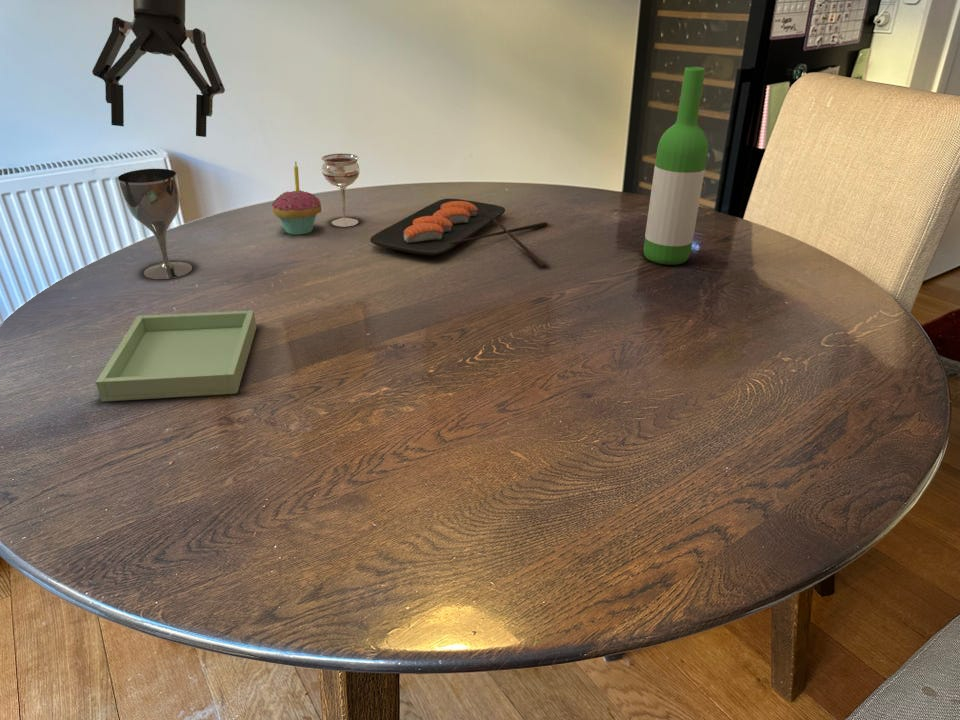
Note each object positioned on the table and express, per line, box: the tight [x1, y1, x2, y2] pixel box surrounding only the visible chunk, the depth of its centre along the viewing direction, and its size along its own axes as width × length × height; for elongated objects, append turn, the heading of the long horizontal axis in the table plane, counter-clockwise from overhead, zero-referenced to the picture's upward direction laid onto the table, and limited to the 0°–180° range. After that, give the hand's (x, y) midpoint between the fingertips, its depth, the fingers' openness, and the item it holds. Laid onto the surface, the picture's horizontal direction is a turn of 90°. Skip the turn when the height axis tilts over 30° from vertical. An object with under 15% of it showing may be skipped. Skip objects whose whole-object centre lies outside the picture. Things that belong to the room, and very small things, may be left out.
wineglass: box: [320, 152, 361, 228], centre depth 129 cm, size 7×7×12 cm
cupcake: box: [271, 161, 322, 236], centre depth 125 cm, size 9×8×12 cm
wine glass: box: [117, 168, 193, 280], centre depth 107 cm, size 8×8×15 cm
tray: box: [95, 310, 257, 403], centre depth 85 cm, size 15×17×3 cm
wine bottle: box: [643, 66, 709, 266], centre depth 111 cm, size 8×8×30 cm
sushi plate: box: [369, 198, 548, 268], centre depth 124 cm, size 29×30×4 cm
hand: (159, 131), depth 116 cm, fingers open, 13 cm apart
